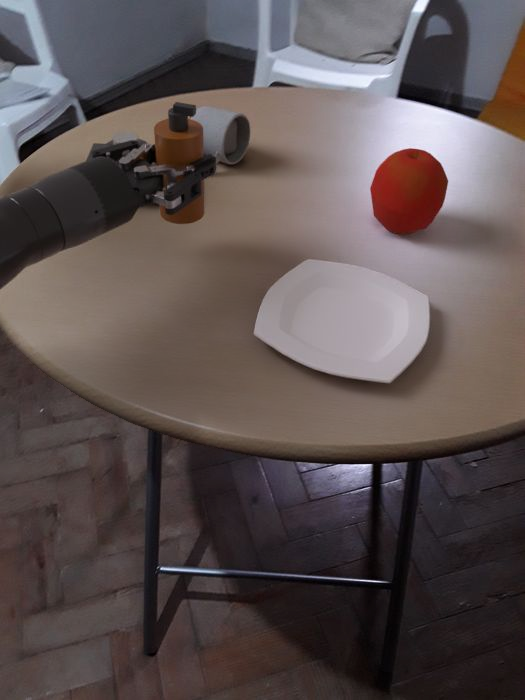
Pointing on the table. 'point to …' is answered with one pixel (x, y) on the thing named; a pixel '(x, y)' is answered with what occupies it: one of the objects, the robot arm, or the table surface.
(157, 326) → the table surface
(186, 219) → the soap bottle
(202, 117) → the ceramic mug
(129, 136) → the white push button
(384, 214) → the apple
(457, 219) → the table surface
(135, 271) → the table surface
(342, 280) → the plate
